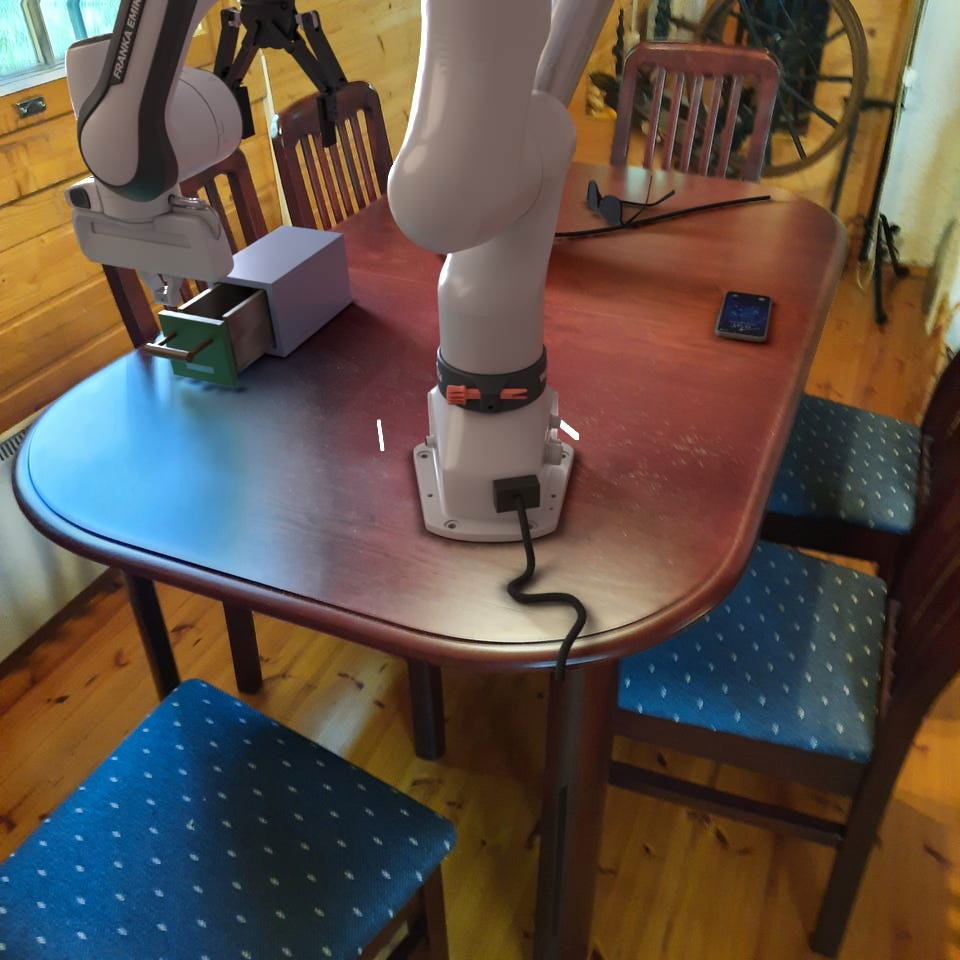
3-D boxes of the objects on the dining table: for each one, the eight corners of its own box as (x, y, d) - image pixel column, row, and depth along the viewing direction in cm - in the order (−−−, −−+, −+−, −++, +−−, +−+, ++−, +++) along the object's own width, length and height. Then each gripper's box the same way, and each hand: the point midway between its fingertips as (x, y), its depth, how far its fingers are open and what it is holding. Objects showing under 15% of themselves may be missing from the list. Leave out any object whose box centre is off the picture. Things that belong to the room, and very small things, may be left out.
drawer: (208, 407, 109) (192, 344, 104) (147, 394, 112) (128, 331, 107) (306, 328, 126) (297, 270, 121) (251, 318, 130) (239, 261, 124)
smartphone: (773, 295, 132) (766, 339, 121) (772, 301, 133) (765, 345, 121) (725, 289, 134) (713, 331, 123) (724, 295, 135) (712, 337, 123)
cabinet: (284, 357, 122) (271, 283, 115) (220, 344, 125) (204, 272, 119) (352, 301, 136) (344, 233, 129) (293, 291, 140) (282, 224, 133)
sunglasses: (684, 220, 161) (688, 194, 158) (614, 230, 158) (616, 203, 155) (646, 193, 174) (648, 168, 171) (580, 201, 171) (581, 176, 168)
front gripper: (232, 192, 96) (254, 305, 104) (90, 174, 103) (121, 282, 111) (196, 210, 92) (222, 327, 100) (51, 190, 98) (86, 301, 106)
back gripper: (363, -35, 107) (378, 141, 120) (199, -39, 115) (230, 127, 128) (332, -28, 101) (352, 156, 114) (163, -32, 109) (199, 140, 122)
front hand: (168, 303), depth 105 cm, fingers closed
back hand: (288, 141), depth 121 cm, fingers open, 13 cm apart
